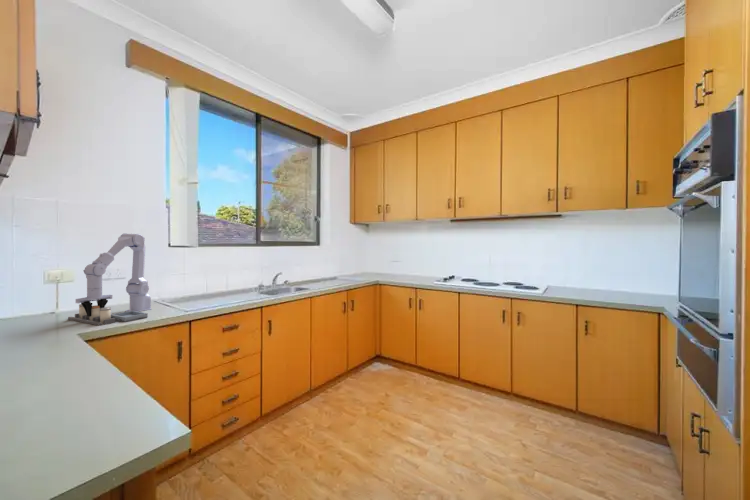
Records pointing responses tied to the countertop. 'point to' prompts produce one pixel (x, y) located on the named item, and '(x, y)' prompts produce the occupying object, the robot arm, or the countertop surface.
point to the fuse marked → (95, 312)
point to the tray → (130, 316)
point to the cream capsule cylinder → (81, 311)
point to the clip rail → (95, 320)
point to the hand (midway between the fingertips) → (94, 315)
